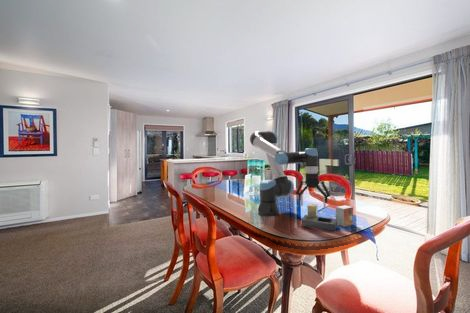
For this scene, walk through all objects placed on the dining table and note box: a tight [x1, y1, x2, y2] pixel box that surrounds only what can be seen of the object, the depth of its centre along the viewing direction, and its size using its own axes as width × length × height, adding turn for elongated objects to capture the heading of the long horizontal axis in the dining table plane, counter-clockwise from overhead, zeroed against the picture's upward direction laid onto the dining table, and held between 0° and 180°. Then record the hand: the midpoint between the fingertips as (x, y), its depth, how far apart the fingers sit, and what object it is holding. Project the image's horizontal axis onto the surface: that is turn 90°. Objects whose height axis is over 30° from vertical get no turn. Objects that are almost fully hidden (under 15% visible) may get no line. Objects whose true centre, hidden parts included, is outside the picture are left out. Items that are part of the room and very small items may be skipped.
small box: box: [335, 204, 354, 228], centre depth 121 cm, size 8×6×10 cm
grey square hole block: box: [300, 214, 338, 233], centre depth 120 cm, size 18×10×4 cm, turn 58°
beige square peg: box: [306, 203, 319, 217], centre depth 129 cm, size 5×5×10 cm
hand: (313, 206), depth 128 cm, fingers open, 13 cm apart
